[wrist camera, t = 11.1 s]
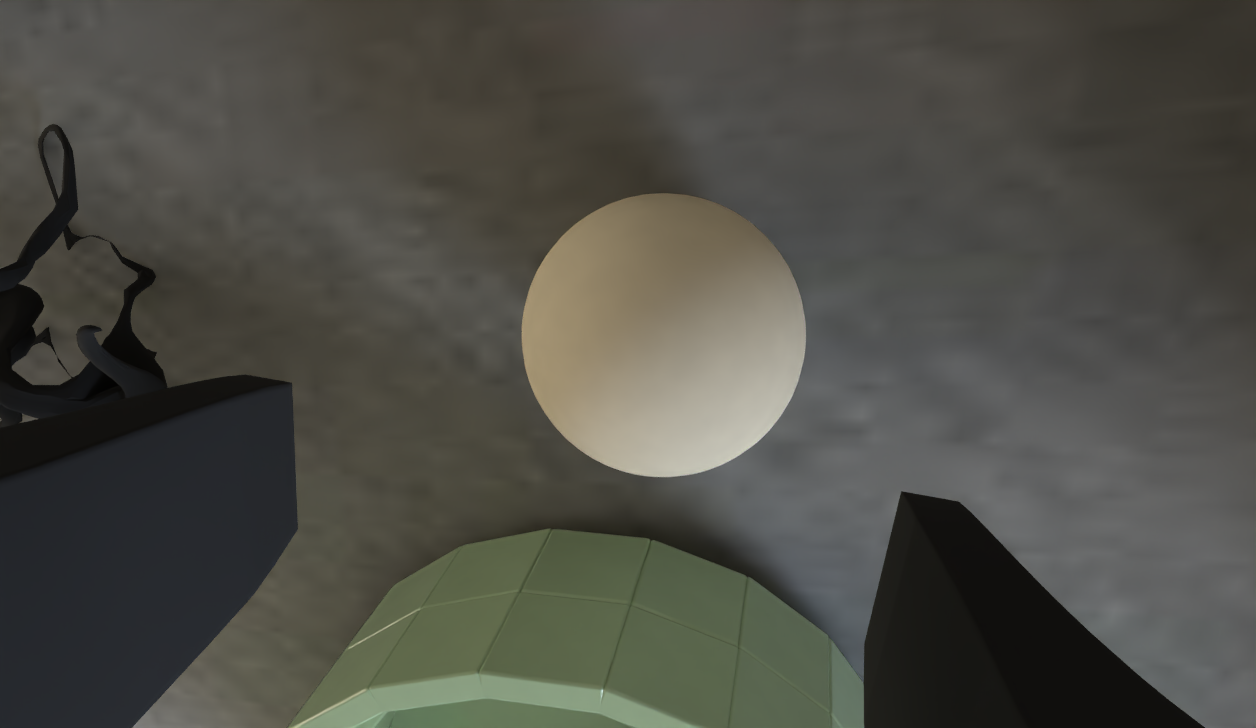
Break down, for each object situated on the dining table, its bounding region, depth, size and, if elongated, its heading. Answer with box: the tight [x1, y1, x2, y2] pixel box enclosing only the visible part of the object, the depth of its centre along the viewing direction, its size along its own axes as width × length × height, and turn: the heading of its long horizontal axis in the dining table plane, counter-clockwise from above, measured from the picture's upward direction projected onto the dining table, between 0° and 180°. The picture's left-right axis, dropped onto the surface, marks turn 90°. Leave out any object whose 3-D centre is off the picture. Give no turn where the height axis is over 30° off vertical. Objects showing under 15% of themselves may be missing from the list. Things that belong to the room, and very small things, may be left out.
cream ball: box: [522, 193, 806, 477], centre depth 16 cm, size 5×5×5 cm
